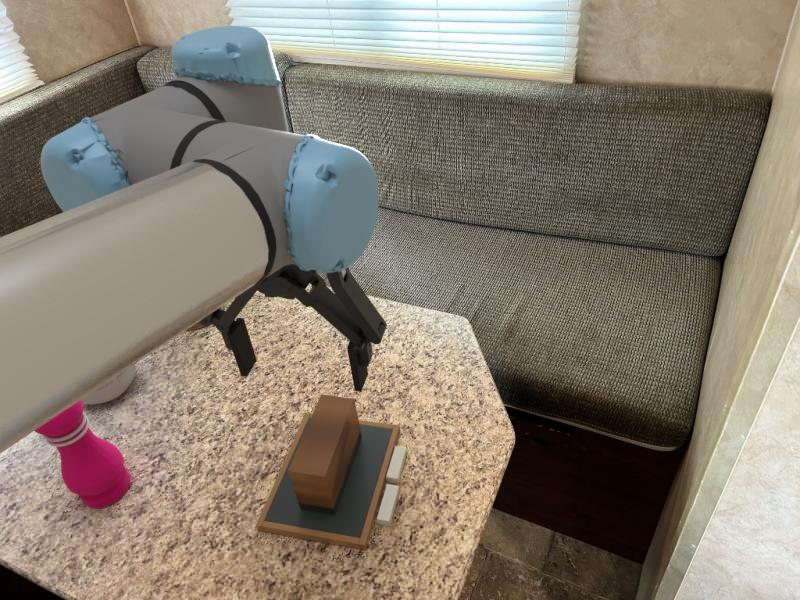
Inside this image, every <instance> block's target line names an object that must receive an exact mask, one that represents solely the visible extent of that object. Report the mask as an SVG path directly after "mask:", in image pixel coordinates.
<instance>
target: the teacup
mask: <svg viewBox="0 0 800 600" xmlns="http://www.w3.org/2000/svg"><path fill="white" fill-rule="evenodd" d="M135 375H136V364H134V365H133V366H131V367H130V368H128V369H127V370H125V371H124V372H122V373H121V374H119V375H118V376H116V377H115V378H113V379H112V380H110V381H109V382H107V383H106V384H104V385H103V386H101V387H100V388H98V389H97V390H95V391H94V392H92V393H91V394H89V395H88V396H86V397H85V398H83V399H82V401H83V405H101V404H105V403H108V402H111V401H113V400H115V399H117V398H118V397H120V396H121V395H123V394H124V393H125V392H126V390H127V389H128V388H129V387H130V385H131V384H132V382H133V380H134V378H135Z"/></svg>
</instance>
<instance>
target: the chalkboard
mask: <svg viewBox="0 0 800 600" xmlns="http://www.w3.org/2000/svg"><path fill="white" fill-rule="evenodd" d="M312 414H313V412H312V413H311V412H305V413H304V416H303V418H302V420H301V423H300V425H299V427H298V429H297V432H296V434H295V436H294V439H293V441H292V443H291V445H290V447H289V449H288V452H287V454H286V457H285V458H284V461H283V464H282V465H281V467H280V470H279V471H278V474H277V477H276V478H275V481H274V483H273V486H272V488H271V490H270V492H269V494H268V497H267V499H266V501H265V504H264V506H263V508H262V510H261V512H260V515H259V517H258V519H257V521H256V524H255V527H256V530H257V531H260V532H266V533H270V534H276V535H280V536H286V537H292V538H299V539H304V540H308V541H309V540H310V541H313V542H314V541H315V542H319V543H326V544H331V545H336V546H341V547H346V548H352V549H357V550H362V551H367V549H368V545H369V542H370V538H371V534H372V531H373V528H374V525H375V520H376V518H377V515H378V511H379V508H380V504H381V501H382V497H383V494H384V493H383V491H384V490H385V487H386V483H387V480H386V475H387V472H388V468H389V465H390V462H391V459H392V455H393V452H394V449H395V446H397V444H398V440H399V436H400V433H401V425H400V424H394V423H386V422H378V421H371V420H363V419H358V420H359V425H360V431H361V436H362V438H361V441H360V444H359V447H358V450H357V453H356V455H355V458H354V461H353V464H352V467H351V470H350V473H349V476H348V478H347V481H346V484H345V487H344V490H343V493H342V496H341V499H340V502H339V504H338V507H337V510H336V513H335V515H332V514H327V513H321V512H315V511H310V510H304V509H300V507H299V504H298V501H297V498H296V495H295V492H294V489H293V485H292V482H291V479H290V476H289V473H288V469H289V467H290V464H291V462H292V460H293V458H294V455H295V453H296V451H297V448H298V446H299V444H300V442H301V439H302V437H303V435H304V433H305V430H306V428H307V426H308V423H309V421H310V419H311V417H312Z"/></svg>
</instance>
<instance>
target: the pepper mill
mask: <svg viewBox="0 0 800 600" xmlns="http://www.w3.org/2000/svg"><path fill="white" fill-rule="evenodd" d="M84 405H85V404H83V401H82V400H80V401H79V402H77V403H76V404H74V405H73V406H71V407H69V408H68V409H66V410H65V411H63V412H62V413H60V414H59V415H57V416H56V417H54V418H53V419H51V420H50V421H48V422H47V423H45V424H44V425H42V426H41V427H39V428H38V429H36V430H35V431H34V432H35V433H37V434H39V435H41V436H42V437H43V438H44V440H45V441H46V443H47V444H48V445H49V446H52V447H53V448H54V447H55V448H56V449H57V450H58V452H59V456H60V472H61V473H60V474H61V478H62V480H63V483H64V484H65V487H66V488H67V489H68V490H69V491H70V492H71V493H73V494H74V495H78V497H79V498H80V500H81V501H82V502H83V504H84V505H85V506H86V507H89V508H92V509H103V508H106V507H109V506H111V505H113V504H114V503H116V502H118V501H119V500H121V498H123V496H124V495H125V494H126V493H127V492H128V490H129V488H130V486H131V485H130V484H131V475H130V473H129V471H128V470H127V468H126V467H125V459H124V456H123V453H122V452H121V450H119V448H118V447H117V446H115V445H114V444H113V443H112V442H110V441H108V440H107V439H104V438H101V437H98V436H97V435H96V434H94V433H93V432H92V430H91V428H90V419H89V417H88V416H87V414H86V412H85V411H84V408H85V407H84Z"/></svg>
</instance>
